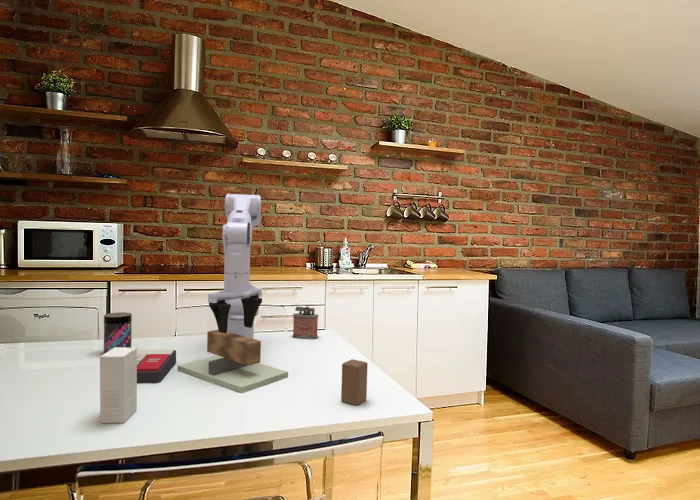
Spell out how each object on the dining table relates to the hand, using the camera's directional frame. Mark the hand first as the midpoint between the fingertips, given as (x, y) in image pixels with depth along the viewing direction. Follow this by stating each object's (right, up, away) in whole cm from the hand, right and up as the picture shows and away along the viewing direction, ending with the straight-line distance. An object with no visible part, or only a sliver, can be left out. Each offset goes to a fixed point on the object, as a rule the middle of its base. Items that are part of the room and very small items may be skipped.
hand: (235, 329), depth 109 cm
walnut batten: (-1, -6, -1) cm, 6 cm away
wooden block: (+28, -12, -15) cm, 34 cm away
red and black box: (-21, -10, -1) cm, 24 cm away
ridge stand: (-1, -10, 0) cm, 10 cm away
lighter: (+13, -9, +37) cm, 40 cm away
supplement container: (-35, -9, +14) cm, 39 cm away
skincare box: (-15, -11, -26) cm, 32 cm away
